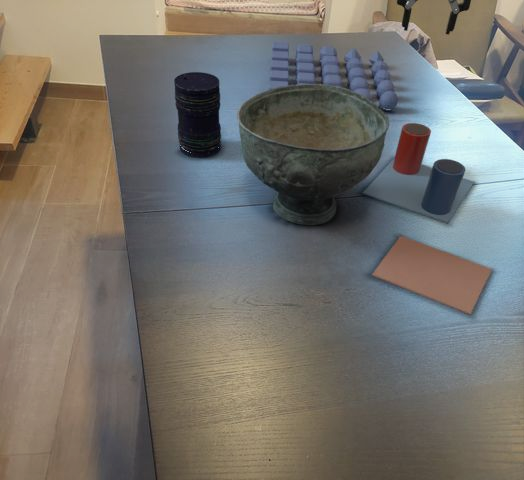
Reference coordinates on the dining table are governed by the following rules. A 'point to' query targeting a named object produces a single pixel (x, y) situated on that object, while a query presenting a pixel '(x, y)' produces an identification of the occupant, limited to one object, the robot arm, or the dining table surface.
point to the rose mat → (433, 274)
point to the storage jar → (198, 114)
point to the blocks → (333, 71)
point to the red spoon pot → (411, 148)
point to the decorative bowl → (310, 145)
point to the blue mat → (411, 191)
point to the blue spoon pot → (442, 186)
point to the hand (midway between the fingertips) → (426, 31)
